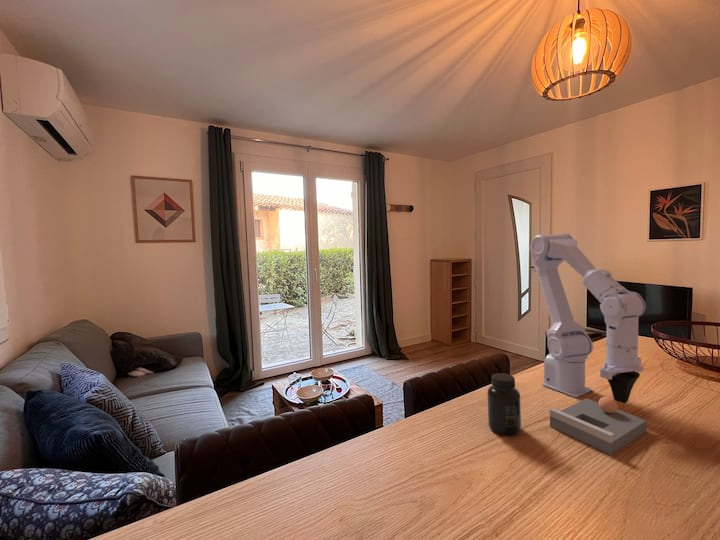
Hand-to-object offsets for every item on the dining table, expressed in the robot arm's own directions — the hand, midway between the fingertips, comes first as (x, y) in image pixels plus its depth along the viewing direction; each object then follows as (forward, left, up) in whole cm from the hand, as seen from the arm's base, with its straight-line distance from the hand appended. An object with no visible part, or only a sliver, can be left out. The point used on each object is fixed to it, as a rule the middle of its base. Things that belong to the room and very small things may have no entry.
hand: (620, 401), depth 77 cm
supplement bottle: (-11, -27, -4) cm, 29 cm away
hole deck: (0, -10, -3) cm, 11 cm away
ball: (0, -6, +1) cm, 6 cm away
